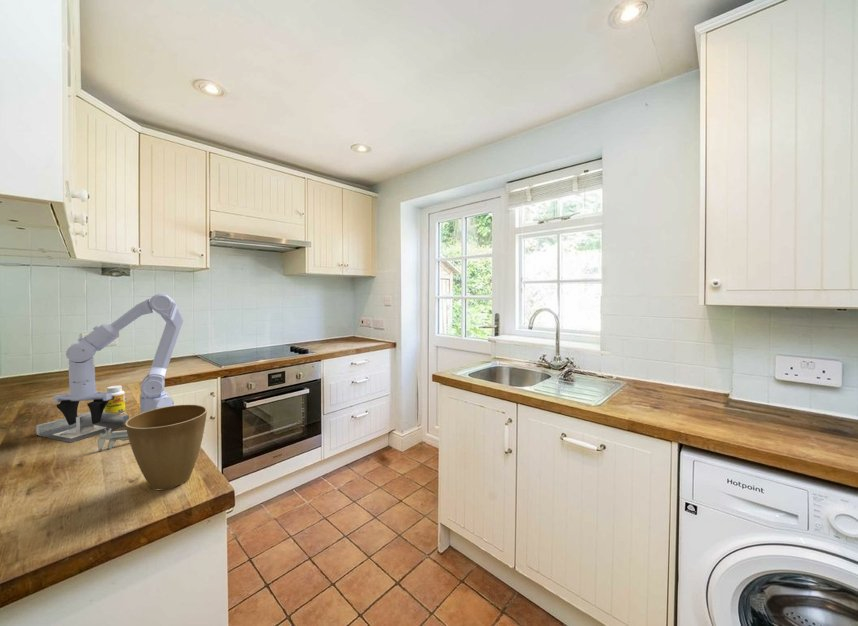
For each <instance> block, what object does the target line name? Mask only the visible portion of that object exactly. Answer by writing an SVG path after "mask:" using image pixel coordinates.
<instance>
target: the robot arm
mask: <svg viewBox="0 0 858 626" xmlns="http://www.w3.org/2000/svg"><path fill="white" fill-rule="evenodd" d="M153 311H154V312H155V313H156V314H159V315H160V317H161V318H162V319H163V320H164V321H165V326H164V329H163V332H162V334H161V338H160V340H159V342H158V343H159V344H158V346H157V349H156V351H155V355H154V358H153V360H152V363H151V366H150V369H149V371H148V373H147V375H145V377H144V378H143V379H142V382H141V385H140V392H141V394H140V395H139V407H140V410H139V411H140V413H143V412H146V411H150V410H153V409H157V408H162V407H168V406H175V402H174V399H173V398H172V397H170V396H168V394H167V390H165V388H166V386H165V385H166V384H165V383H166V381H165V380H166V379H165V377H166V373H167V370H168V366H169V364H170V361H171V358H172V355H173V353H174V349H175V346H176V344H177V341H178V338H179V335H180V332H181V329H182V326H183V322H184V318H183V316H182V314H181V312H180V309H179V307H178V304H177V302H176V301H175V300H174V299H173V298H172V297H170V296H169V295H167V294H165V293H157V294H154V295H153V296H151V298H147V299H146V300H144V301H141V302H139V303H138V304H136V305H135V306H133V307H132V308H130V309H129V310H128V311H126V312H125V313H124V314H122V315H121V316H119V317H118V318H117V319H116V320H114V321H113V322H112V323H110V324H109V323H108V324H106V323H105V324H101V325H96V326H94V327H93V328H92V331H90V332H89V333H88V334H87V335H85V336H84V337H79V338H78V339H77V341H78V342H77V343H73V344H71V345H70V346H69V347H67V350H66V352H65V356H66V358H67V359H68V383H69V384H68V386H69V393H64V394H57V395H54V396H53V401H54V402H53V403H58V404H56V408H57V409H59V411H60V412H61V413H62V414H63V416H64V418H66V420H67V422H68V425H72V424H74V423H76V417H77V415H78V407H79V404H80V402H81V401H82V402H87V401H88V403H87V404H86V406H87V407H88V408H89V412H91V420H92V424H96V423H98V422H100V420H101V416H102V413H103V411H105V409H104V408H105V406H106V405H107V403H108V402H109V400H110V399H112V396H111V393H107V392H99V391H97V389H96V387H97V386H96V385H97V384H96V370H95V369H96V368H95V367H96V365H95V362H94V361H95V359H94V356H95V354H96V352H99V351H101V350H103V349H104V348H106V347H107V346H108V345H110V344H112V342H114V341H115V340H116V339H118V338H119V337H120V331H121V330H123V329H124V328H126V327H127V326H129V325H130V324H131V323H133V322H134V321H136V320H137V319H138V318H140V317H142V316H145V315H149V314H153ZM89 401H91V402H89ZM140 413H139V414H140Z"/></svg>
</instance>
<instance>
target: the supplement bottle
mask: <svg viewBox="0 0 858 626" xmlns="http://www.w3.org/2000/svg"><path fill="white" fill-rule="evenodd" d="M122 388H123V387H122V385H111V386H108V387H106V393H111V396H112V399H110V400H109V402H108V403H107V405H106V406H105V408H104V411H106V412H113V413H119V414H123V413H124V414H125V413H126V392H125V391H124V390H123V389H122Z"/></svg>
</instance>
